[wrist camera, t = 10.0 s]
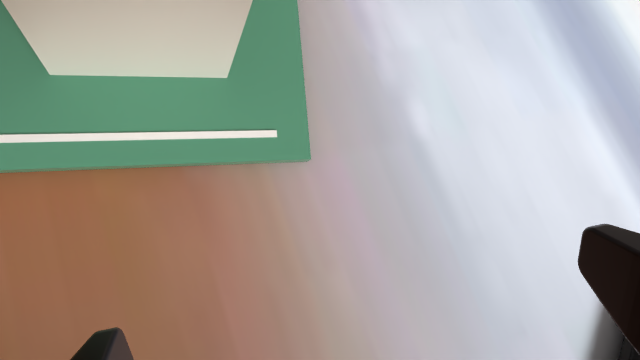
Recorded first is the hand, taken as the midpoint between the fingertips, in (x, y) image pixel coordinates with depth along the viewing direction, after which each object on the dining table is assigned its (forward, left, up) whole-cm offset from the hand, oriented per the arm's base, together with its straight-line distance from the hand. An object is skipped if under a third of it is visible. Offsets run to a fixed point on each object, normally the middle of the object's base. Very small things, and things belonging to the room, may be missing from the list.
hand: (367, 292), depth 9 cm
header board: (+2, +11, -13) cm, 17 cm away
